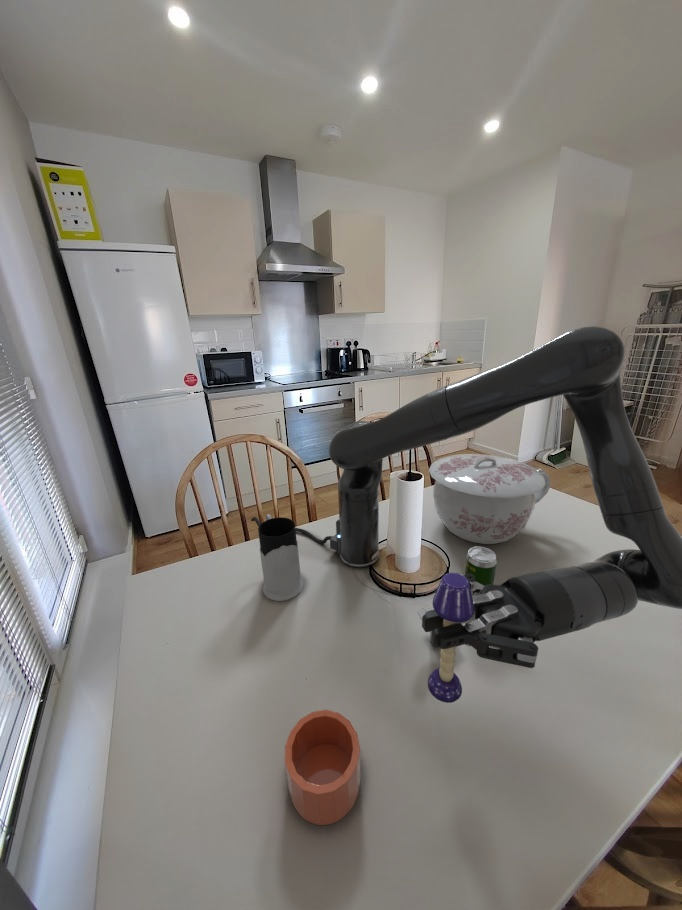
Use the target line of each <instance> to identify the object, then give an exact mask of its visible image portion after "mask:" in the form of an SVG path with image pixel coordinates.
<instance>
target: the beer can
mask: <svg viewBox="0 0 682 910" xmlns="http://www.w3.org/2000/svg"><path fill="white" fill-rule="evenodd" d="M465 556H466V557H465V566H464V575H463V576H465V575H466V574H473V575H474V576H475V580H474V581H476V582H478V583H480V584H482V585H484V586H485V585H488V584H493V585H495V578H496V571H497V565H498V561H497V554H496V553H495V552H494V551H493V550H492V549H490V548H488V547H484V546H473V547H470V548H469V549H468V551H467V553H466V555H465ZM476 595H479V594H476Z"/></svg>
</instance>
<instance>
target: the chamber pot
mask: <svg viewBox="0 0 682 910" xmlns="http://www.w3.org/2000/svg"><path fill="white" fill-rule="evenodd" d="M428 472H429V474H430V476H431V478H432V479H433V480H435V482H434V484H433V489H432V490H433V493H432V496H433V501H434V508H435V511H436V514H437V515H438V516H439V519H440V521H441V522H442V524H443V525H444V527H445V528H446V529H447V530H448V531H449V532H451V534H453V535H455V536H456V537H458V538H460V539H463V540H465V541H467V542H471V543H475V544H481V545H495V544H501V543H505V542H507V541H509V540H511V539H513V538H514V537H515V536H517V534H520V532H522V530H523V529H525V527H526V526H527V525H528V523H529V521H530V519H531V516H532V515H533V512H534V511H535V505H536V504H537V503H539V502H540V501H542V499H543V498H544V497H545V496H546V495H547V494H548V492H549V490H550V488H551V482H552V481H551V478H550V476H549V475H550V474H549V473H547V471H545V470H544V469H542V468H537V469H536V468H535V467H532V466H530V465H529V464H527V463H525V462H522V461H519V460H515V459H513V458H510V457H505V456H504V457H503V456H499V455H493V454H485V453H461V454H452V455H448V456H447V455H446V456H445V457H440V458H438V459H437V460H435V461H434V462H432V463H431V464H430V466H429V468H428Z"/></svg>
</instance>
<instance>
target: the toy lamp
mask: <svg viewBox="0 0 682 910" xmlns="http://www.w3.org/2000/svg"><path fill="white" fill-rule="evenodd" d="M432 607H433V610H435V612H436V613H437V614H438V615H439V616H440V617H442V618H443V619H444V620H443V627H445V626H449V625H453V624H457V623H459V622H460V623H461V622H465V621H468V620H470V618H472V616H473V614H474V603H473V598H472V593H471V588H470V584H469V581H468V580H467V578H466V577H464V575H463V574H460V573H458V572H447V573H446V574H444V575H443V576H442V577H441V579H440V581H439V584H438V586H437V588H436V591H435V593H434V596H433V598H432ZM456 649H457V646H456V647H452V648H448V649H440V653H439V654H440V660H439V667H438V668H435V669H433V670H432V671H431V673H430V674H429V676H428V679H427V688H428V691H429V693H430V694H431V696H432V697H433V698H435V699H436V700H438V701H440V702H442V703H446V704H451V703H455V702H456V701H458V700H460V698H461V696H462V694H463V688H462V687H463V686H462V682H461V680H460V678H459V677H458V675H457V674H456V673H455V672H454V668H455V659H456Z"/></svg>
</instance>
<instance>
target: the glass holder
mask: <svg viewBox="0 0 682 910" xmlns="http://www.w3.org/2000/svg"><path fill="white" fill-rule="evenodd" d="M295 528H296V523H295V521H294V520H292V519H291V518H288V517H272V515H270V513H268V514H266V515H265V520H264V521H263V522H261V524H260V526H258V528H257V532H258V540H259V554H260V562H261V569H262V576H263V577H262V578H263V586H262V592H263V594H264V596H265V597H266V598H267V599H268V600H272V601H277V602H284V601H289V600H291V599H293V598H295V597H297V596H298V595H299V594H300V593H301V592H302V590H303V588H304V579H303V578H302V577H301V575H302V574H301V565H300V556H299V543H298V540H297V532H296V529H295Z"/></svg>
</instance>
